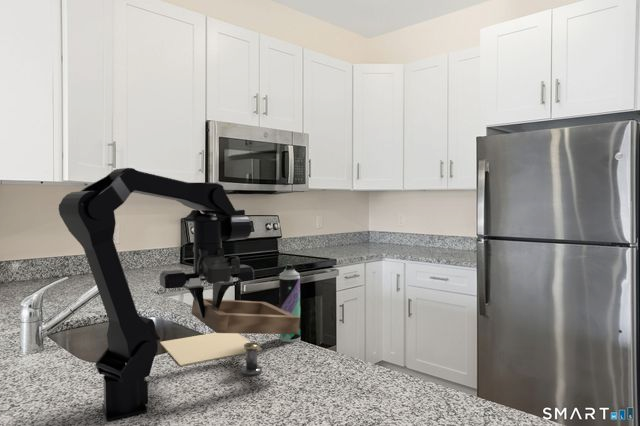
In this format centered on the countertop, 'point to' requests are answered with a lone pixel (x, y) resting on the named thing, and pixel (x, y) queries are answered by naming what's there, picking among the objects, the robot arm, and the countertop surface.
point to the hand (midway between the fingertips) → (208, 316)
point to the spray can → (290, 298)
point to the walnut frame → (247, 317)
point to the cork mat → (205, 347)
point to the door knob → (251, 360)
